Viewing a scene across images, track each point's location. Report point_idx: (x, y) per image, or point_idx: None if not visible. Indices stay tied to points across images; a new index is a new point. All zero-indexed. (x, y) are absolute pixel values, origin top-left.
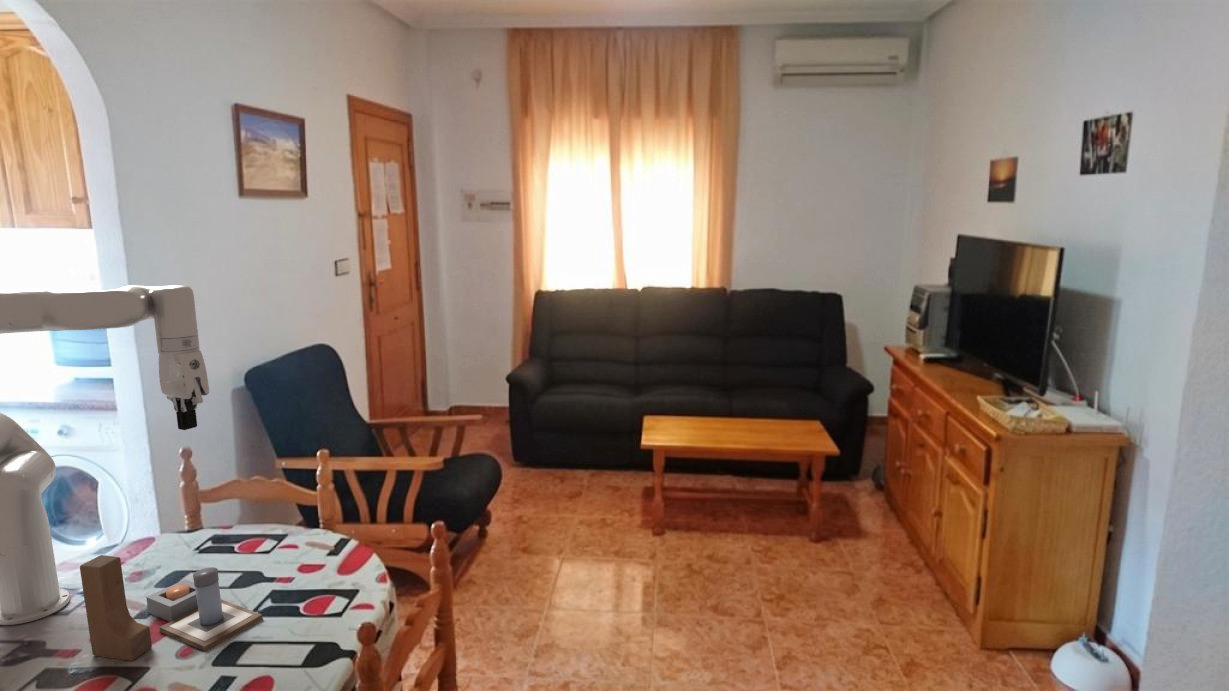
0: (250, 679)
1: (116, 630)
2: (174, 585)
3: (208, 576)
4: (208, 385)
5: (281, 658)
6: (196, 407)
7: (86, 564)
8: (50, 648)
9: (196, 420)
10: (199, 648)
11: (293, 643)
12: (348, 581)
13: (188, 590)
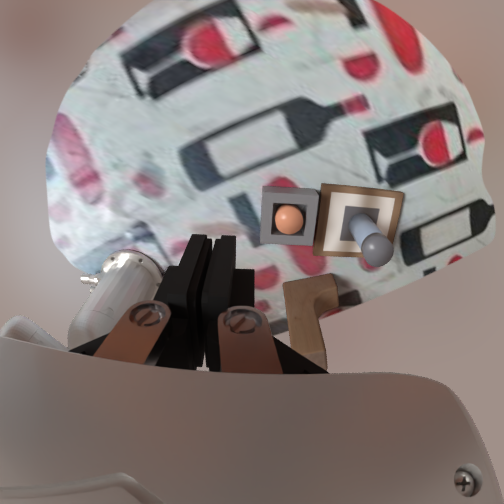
0: (446, 264)
1: (322, 312)
2: (265, 209)
3: (391, 257)
4: (491, 462)
5: (454, 235)
6: (267, 322)
7: None
8: None
9: (232, 250)
10: None
11: (452, 214)
12: (432, 87)
13: (300, 212)
